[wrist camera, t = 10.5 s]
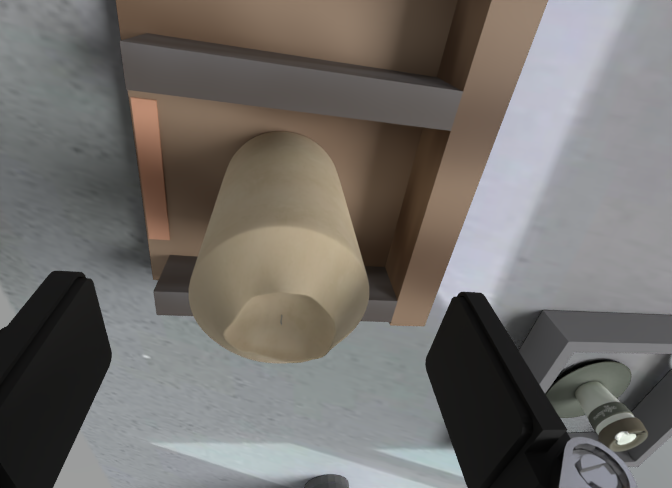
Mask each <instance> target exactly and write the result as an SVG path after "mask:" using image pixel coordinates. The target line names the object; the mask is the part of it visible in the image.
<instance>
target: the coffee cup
mask: <svg viewBox="0 0 672 488" xmlns="http://www.w3.org/2000/svg"><path fill="white" fill-rule="evenodd" d="M630 381H631V371H630V369H629V368H628V367H627V366H625V365H623V364H621V363H619V362H616V361H599V362H594V363H590V364H587V365H584V366H582V367H579V368H577V369H575V370H573V371H571V372H569V373H568V374H566V375H565V376H563V377H562V378H560V379H559V380H557V381H556V382H555V383H554V384H553V385H552V386H551V387H550V388H549V389H548V391H547V393H546V396H547V398H548V399H549V401H550V403H551V404H552V406H553V407H554V409H555V411H556V412H557V414H558V416H559V417H560V418H572V417H578V416H583V415H586V416H587V417H588V419H589V422H590V424H591V425H592V427H593V428H594V430H595V431H596V432H597V434H598V437H599V439H598V441H600V442H602V443H603V444H604V445H605V446H606V447H607V448H609V449H610V450H612V451H614V452H620V451H625V450H629V449H631V448H634V447H636V446H638V445H639V444H641V443H642V442H643V441H644V440H646V438H647V436H648V432H647V430H646V428H645V427H644V425H643V423H642V422H641V421H640V420H639V419H638V418H635V417H634V415H633V413H632V412H631V411H630V410H629V409H628V408H627V407H626V406H625V405H624V404H623V403H620V402H619V401H618V400H617V398H618V397H619V396H620V395H621V394H622V393H623V392H624V391H625V390H626V388H627V387H628V385H629V383H630Z"/></svg>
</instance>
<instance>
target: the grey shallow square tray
mask: <svg viewBox="0 0 672 488" xmlns="http://www.w3.org/2000/svg"><path fill="white" fill-rule="evenodd" d="M519 352H520V354H521V356H522V357H523V359H524V360H525V362H526V364H527V365H528V367H529V369H530V370H531V372H532V373H533V375H534V377H535V378H536V380H537V382H538V383H539V385H540V386H541V388H542V390H543V391H544V393H546V392H547V390H548V389H549V388H550V386H551V385H552V383H553V382H554V380H555V379H556V378H557V376H558V375H559V373H560V372H561V371H562V369H563V368H564V366H565V365H566V364H567V362H568V361H569V359H570V358H571V356H572V355H573V354H574V352H590V353H648V354H672V315H654V314H629V313H603V312H577V311H552V310H543V311H542V312H541V314H540V316H539V318H538V319H537V321H536V323H535V324H534V326H533V328H532V329H531V331H530V333H529V334H528V336H527V338H526V340H525V341H524V343H523V345H522V346H521V348H520V350H519ZM632 413H633V415H634V417H635V418H638V419H639V420H640V421H641V422H642V423H643V425H644V427H645V428H646V430H647V432H648V436H647V438H646V440H644V441H643V442H642V443H641V444H639V445H638V446H636V447H634V448H631V449H629V450H625V451H620V452H614V451H613V452H614V453H615V454H616V455H617V456H618V457H619V458H620V459H622V460H623V462H624V463H625V464H626V466H627V467H639V466H640V465H641V464H642V463H643V462H644V461H645V460H646V459H647V458H648V457H650V456H651V455H652V454H653V453H654V452H655V451H656V450H657V449H658V448H659V447H661V446H662V445H663V444H664V443H665V442H666V441H667V440H668V439H669V438H670V437H671V436H672V369H671V370H670V371H669V372H668V374H667V375H666V376H665V377H664V378H663V379H662V380H661V381H660V382H659V383H658V384H657V385H656V386H655V387H654V388H653V390H652V391H651V392H650V393H649V394H648V395H647V396H646V397H645V398H644V399H643V400H642V401H641V402H640V403H639V404H638V406H637V407H636V408H635V409H634V410H633V411H632ZM568 435H569V437H570V438H571V439H572V438H574V437H585V438H590V439H593V440H595V441H597V442H599V443H602V442H600V441H598V439H599V437H598V434H597V432H585V433H568ZM602 444H603V443H602ZM603 445H604V444H603Z"/></svg>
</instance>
